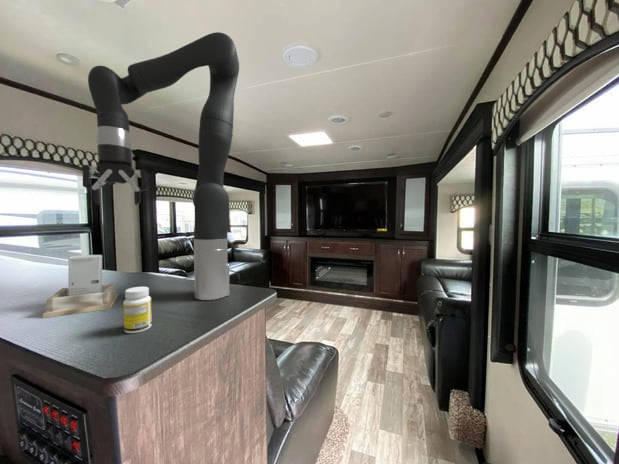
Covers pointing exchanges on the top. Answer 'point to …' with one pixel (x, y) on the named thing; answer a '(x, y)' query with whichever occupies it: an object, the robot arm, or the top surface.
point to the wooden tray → (79, 302)
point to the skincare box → (85, 274)
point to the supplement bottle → (137, 310)
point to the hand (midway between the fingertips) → (118, 204)
